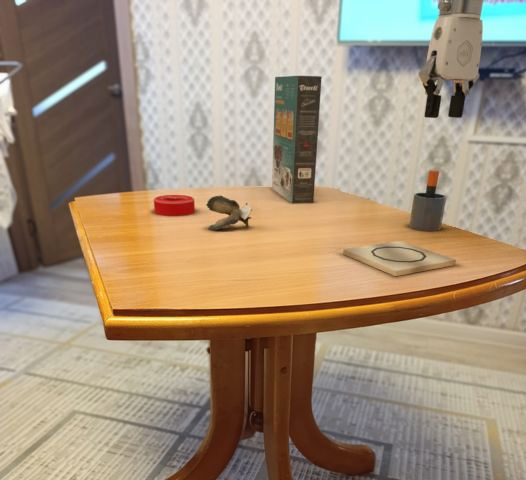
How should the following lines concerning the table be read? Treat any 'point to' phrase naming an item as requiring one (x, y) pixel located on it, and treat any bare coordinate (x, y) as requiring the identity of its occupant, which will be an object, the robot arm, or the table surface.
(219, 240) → the table surface
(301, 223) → the table surface
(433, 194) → the marker
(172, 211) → the red tape roll
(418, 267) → the beige square tile
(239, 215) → the eagle figurine
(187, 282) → the table surface
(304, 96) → the cake mix box
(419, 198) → the pen cup
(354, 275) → the table surface
